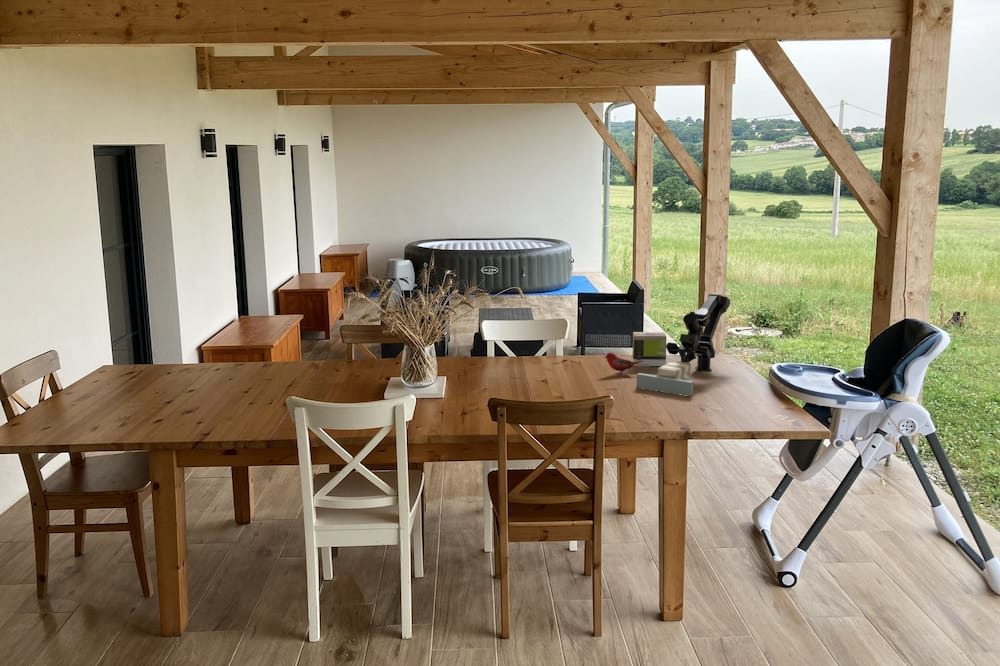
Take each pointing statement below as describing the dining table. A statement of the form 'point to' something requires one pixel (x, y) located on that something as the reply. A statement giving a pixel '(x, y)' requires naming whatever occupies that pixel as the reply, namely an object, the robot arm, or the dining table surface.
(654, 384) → the board
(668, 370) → the block
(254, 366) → the dining table surface
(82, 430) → the dining table surface
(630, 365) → the decorative bird figurine
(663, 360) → the tea box
